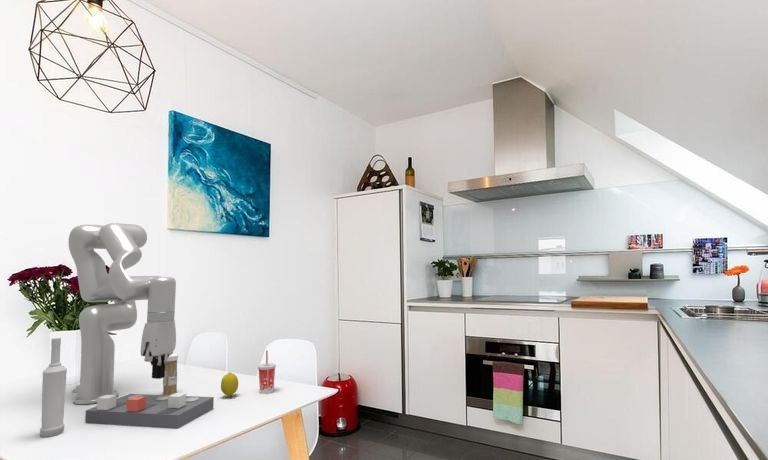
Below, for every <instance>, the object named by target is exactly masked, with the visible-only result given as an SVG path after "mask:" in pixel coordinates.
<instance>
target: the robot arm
mask: <svg viewBox="0 0 768 460" xmlns="http://www.w3.org/2000/svg"><path fill="white" fill-rule="evenodd" d="M147 240H148V235H147V231H146V230H145V229H144V227H143V226H141V225H138V224H130V223H119V222H114V223H113V222H112V223H106V224H105V225H102V224H101V225H100V224H80V225H76V226H75V227H73V228H72V229H71V231H70V232H69V236H68V241H67V242H68V250H69V254H70V255H71V258H72V260H73V261H74V264H75V267H76V268H75V269H76V275H77V281H78V287H79V293H80V297H81V299H82V300H83V301H84V302H87V303H103V302H104V304H95V305H94V304H93V305H90V306H87V307H85V308H84V309H83V310H81V312H80V313H79V314H78V315H79V316H78V325H79V330H80V331H79V332H80V339H81V340H80V343H81V345H80V347H81V348H80V371H79V373H80V374H79V375H80V377H79V384H78V385H76V387H74V388H73V389H71V393H72V394H73V393H76V396H75V397H74V398H73V403H74V404H76V405H91V404H97V398H99V397H102V396H104V395H116V398H117V397H118V396H119V393H120V392H119V391H118V390H114V381H115V380H114V377H115V353H116V352H115V351H116V349H115V347H116V346H115V345H116V344H115V341H114V339H113V338H112V337H111V336H110V334H109V333H110V332H113V331H121V330H128V329H131V328H132V327H134V326H135V325H136V323H137V319H138V309H137V305H136V301H145V300H147V313H146V315H147V316H146V322H145V323H144V326H143V330H142V336H141V342H140V356H141V357H144V361H143V362H149V363H150V366H152V367H151V378H152V379H154V380H155V379H157V380H160V379H163V378H164V377H165V364H166V363H167V359H168V357H169V356H170V355H172V354H174V351H175V349H176V345H177V332H176V331H177V330H176V328H177V327H176V320H175V314H176V313H175V312H176V311H175V309H176V291H177V281H176V279H175V278H174V277H171V276H169V277H168V276H159V275H134V276H133V275H131V276H130V275H128V274H127V272H126V270H127V269H129V268H132V267H134V266H135V265H136V264H138V263H139V262H140V261H141V260H142V259H141V258H142V257H143V253H142V250H141V248H143V247H144V246H145V244H146V243H147ZM95 249H97V250H105V251H106V252H107V254H108V255H109V256H110V259H111V260H112V263H111V265H110V267H109V268H108V269H109V270H108V272H107V268H106V263H105V261H104V259H103V258H102V256H101V255H100V254H99V253H98V252H96V251H95ZM105 302H113V303H106V304H105Z"/></svg>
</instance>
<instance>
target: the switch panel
mask: <svg viewBox="0 0 768 460" xmlns="http://www.w3.org/2000/svg"><path fill="white" fill-rule="evenodd" d="M134 396H143V397H146V408H145V409H142V410H140V411H138V412H133V411H127V399H129V398H132V397H134ZM168 396H170V395H163V394H150V393H149V394H147V393H145V394H143V393H128V394H125V395H123V396H121V397H118V398H116V407H114V408H111V409H109V410H97V405H96V406H94V407H91V408H89V409H86V410H85V421H84V423H85V424H92V425H93V424H96V425H113V426H130V427H144V428H145V427H147V428H160V429H161V428H162V429H180V428H182V427H183V426H185V425H187V424H189V423H191V422H192V421H194V420H196V419H198V418H200V417H201V416H203V415H205V414H207V413H208V412H210V411H212V410H214V406H215V405H214V402H215V401H214V396H194V395H186V405H185V406H183V407H181V408H168Z"/></svg>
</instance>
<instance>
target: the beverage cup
mask: <svg viewBox="0 0 768 460" xmlns="http://www.w3.org/2000/svg"><path fill="white" fill-rule="evenodd" d="M268 353H269V352H268V350H265V356H266V357H265V359H266V360H265V363H261V364H258V365H257V369H258V379H259V380H258V381H259V393H260V394H263V395H264V394H266V395H268V394H271V393H274V392H275V391H274V390H275V378H276V377H275V374H276V373H275V372H276V366H277V365H276V363H273V362H271V363H270V362H269V361H268V359H269V358H268V355H269V354H268ZM268 362H269V363H268Z"/></svg>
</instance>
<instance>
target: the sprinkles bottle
mask: <svg viewBox="0 0 768 460" xmlns="http://www.w3.org/2000/svg"><path fill="white" fill-rule="evenodd" d="M178 359H179V356H178V354H176V353H173V354H172V355H170V356H169V357H168V359H167V363H166V364H165V377H164V378H162V395H172V394H175V393H178V391H177V388H178V387H177V385H178Z"/></svg>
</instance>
